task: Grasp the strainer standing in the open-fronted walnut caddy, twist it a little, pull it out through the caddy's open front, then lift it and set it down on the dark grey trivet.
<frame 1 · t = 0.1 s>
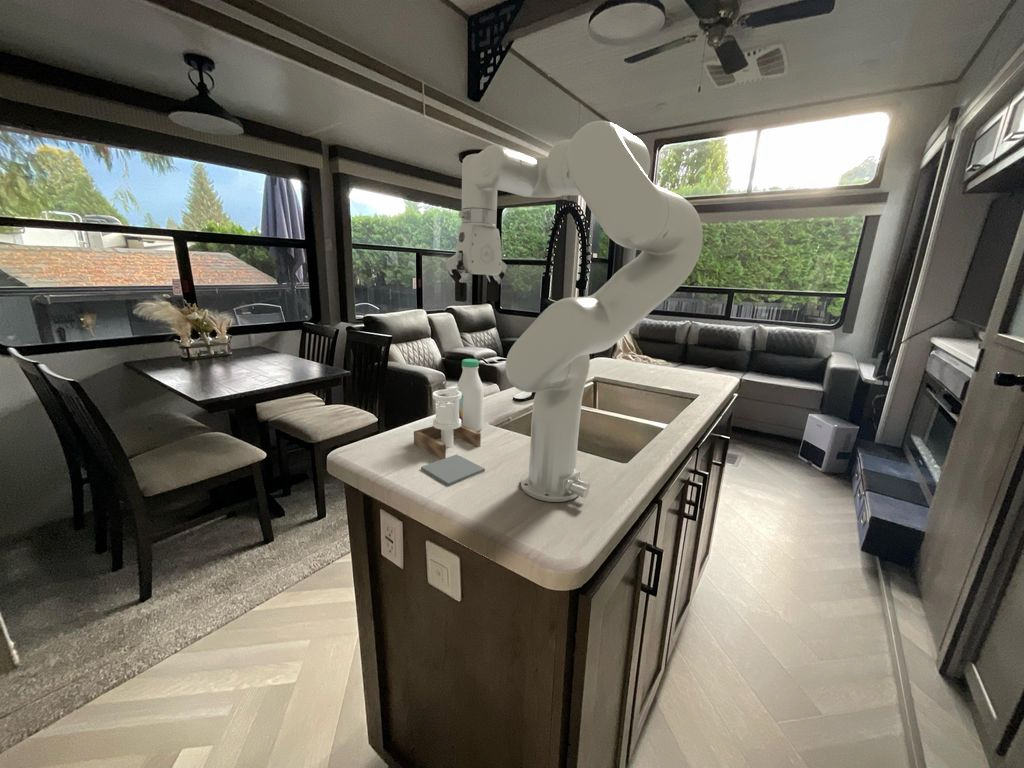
hand: (477, 301, 90), 37 cm above the worktop, tool pointing down, fingers open, 9 cm apart
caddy: (447, 445, 102), on the worktop
milk bottle: (469, 429, 115), on the worktop
trivet: (452, 470, 89), on the worktop
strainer: (447, 445, 102), on the worktop
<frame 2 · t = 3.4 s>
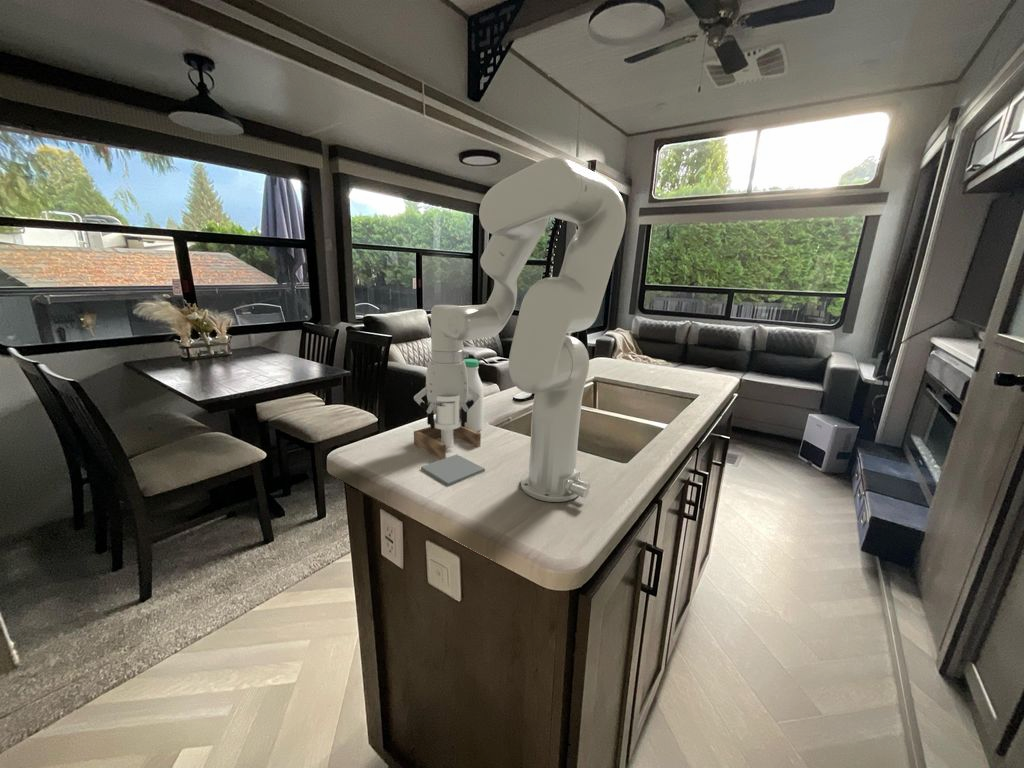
hand: (447, 425, 101), 5 cm above the worktop, tool pointing down, fingers closed on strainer, 7 cm apart
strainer: (447, 445, 102), on the worktop, touching gripper
everything else where it was.
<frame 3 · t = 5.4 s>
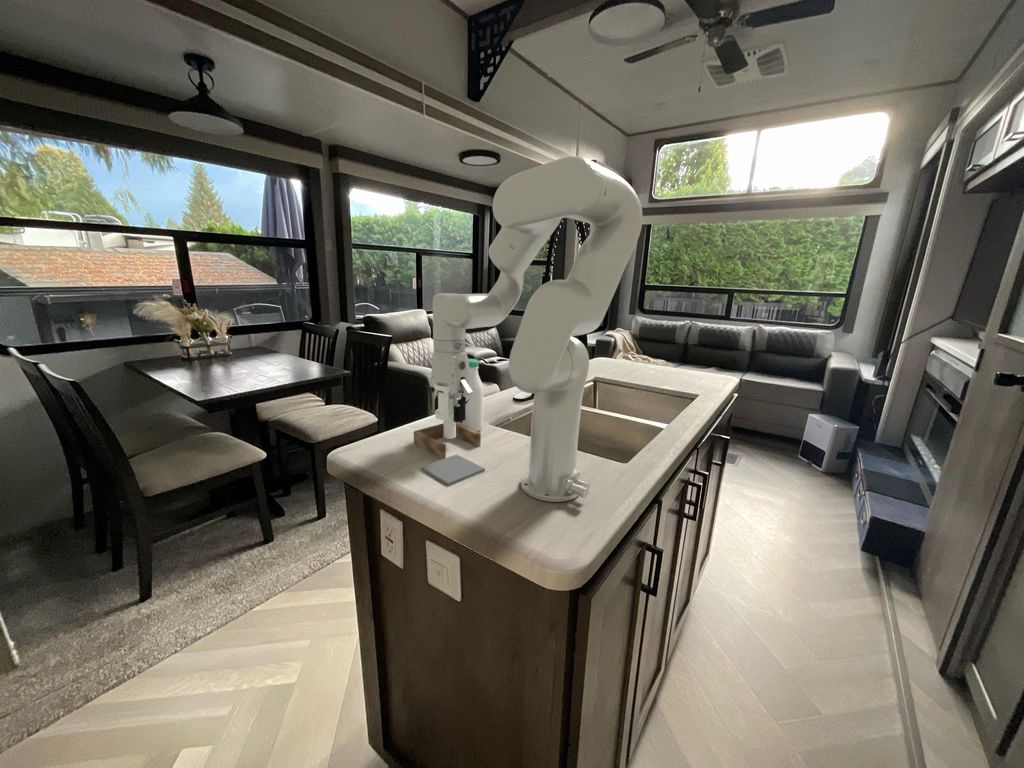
hand: (449, 416, 100), 8 cm above the worktop, tool pointing down, fingers closed on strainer, 7 cm apart
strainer: (449, 437, 101), point 2 cm above the worktop, touching gripper
everything else where it was.
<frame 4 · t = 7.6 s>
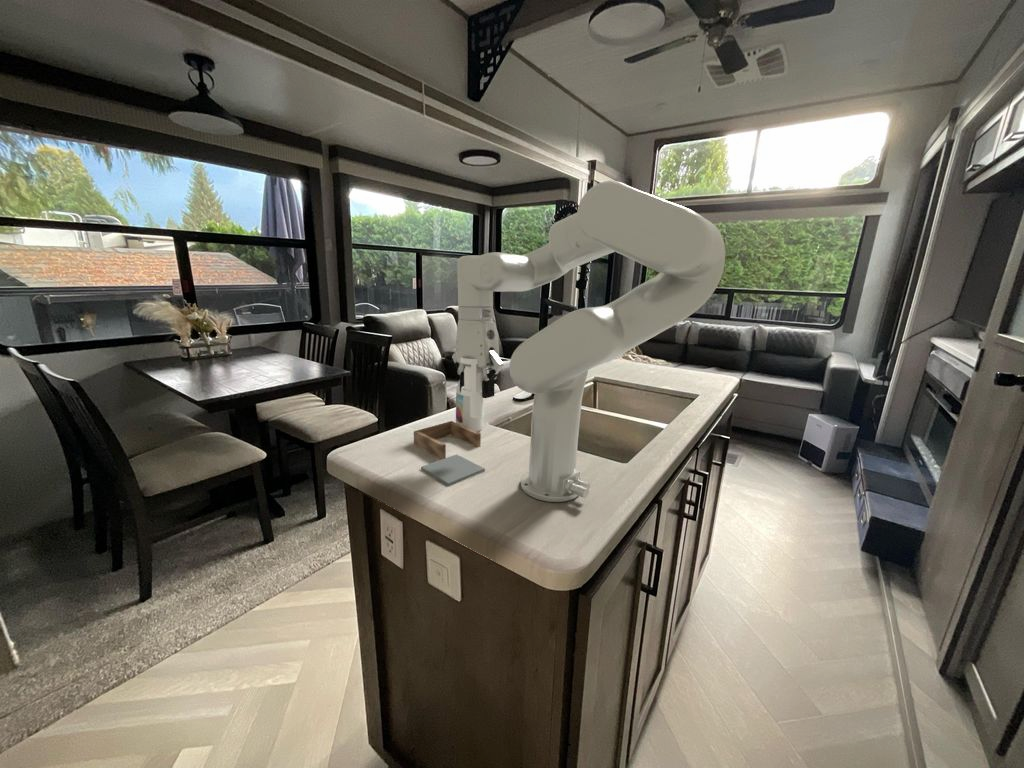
hand: (476, 393, 91), 16 cm above the worktop, tool pointing down, fingers closed on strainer, 7 cm apart
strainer: (477, 416, 92), point 11 cm above the worktop, touching gripper
everything else where it was.
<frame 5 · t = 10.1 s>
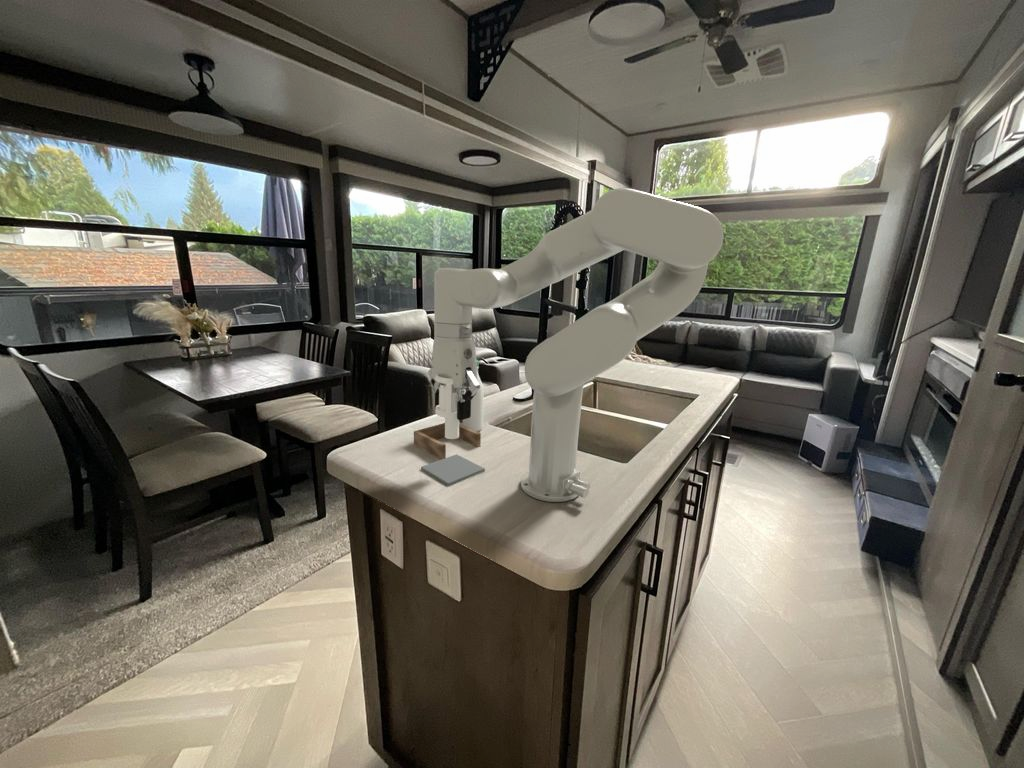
hand: (452, 413, 86), 13 cm above the worktop, tool pointing down, fingers closed on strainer, 7 cm apart
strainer: (451, 437, 87), point 8 cm above the worktop, touching gripper
everything else where it was.
when the fingers open (7 cm above the worktop, at t = 11.8 s): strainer drops 1 cm, resting on trivet.
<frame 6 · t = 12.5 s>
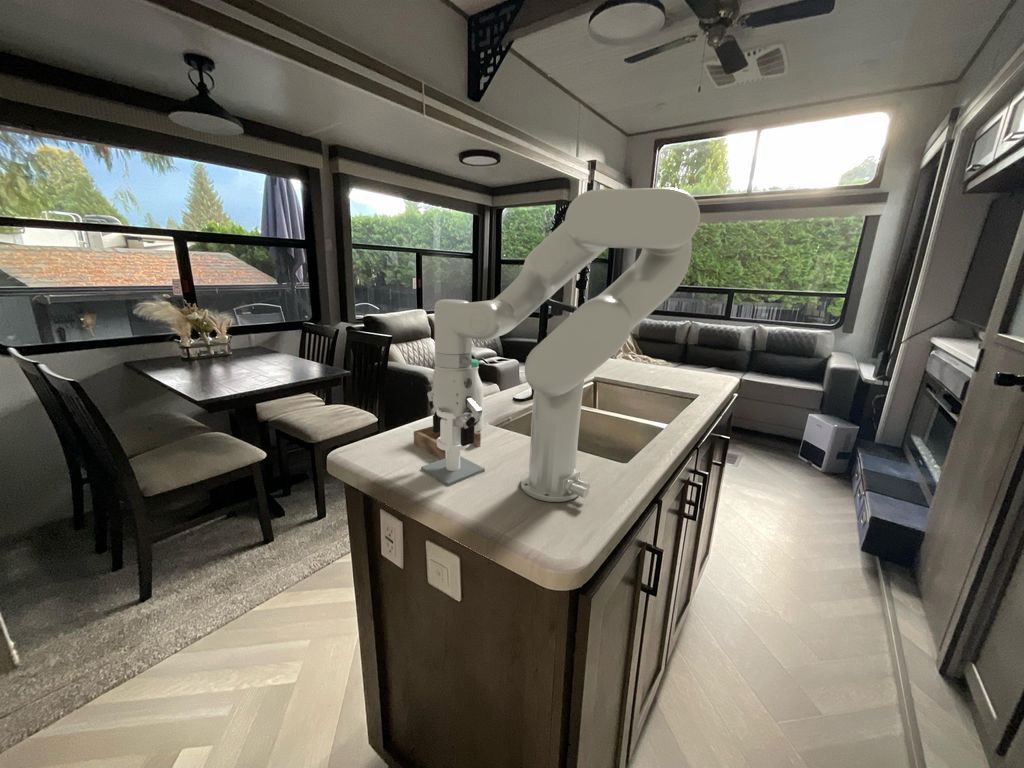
hand: (453, 437, 87), 8 cm above the worktop, tool pointing down, fingers open, 9 cm apart
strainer: (453, 468, 89), resting on trivet
everything else where it was.
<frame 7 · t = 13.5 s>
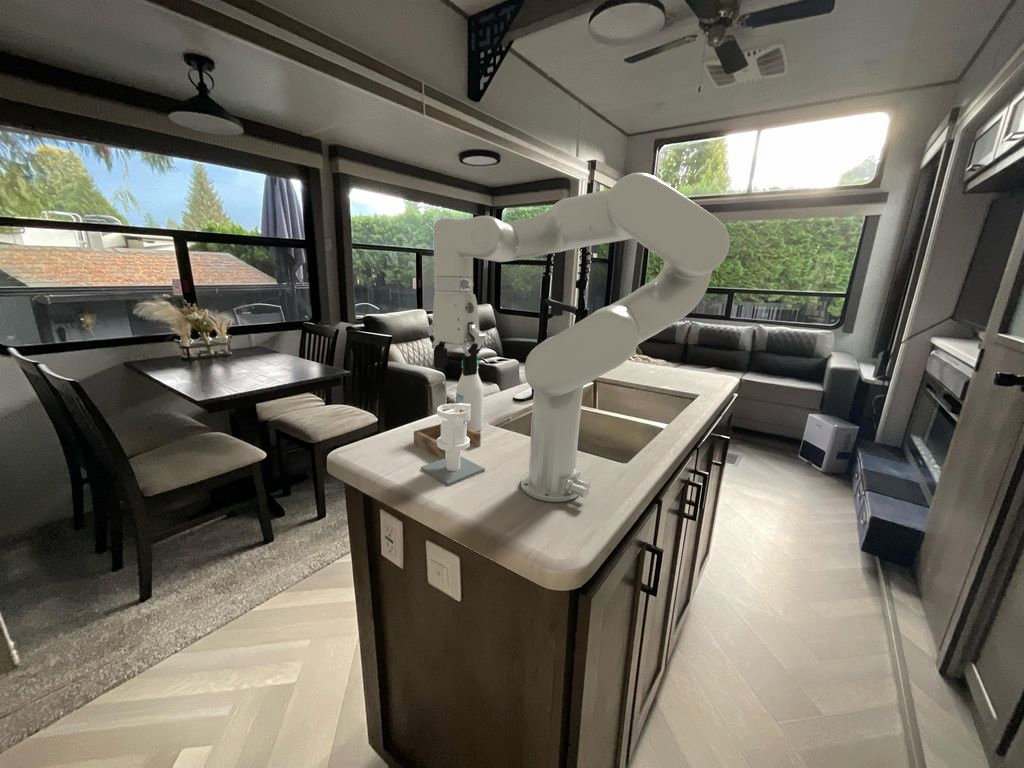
hand: (454, 370, 83), 23 cm above the worktop, tool pointing down, fingers open, 9 cm apart
nothing on the worktop moved.
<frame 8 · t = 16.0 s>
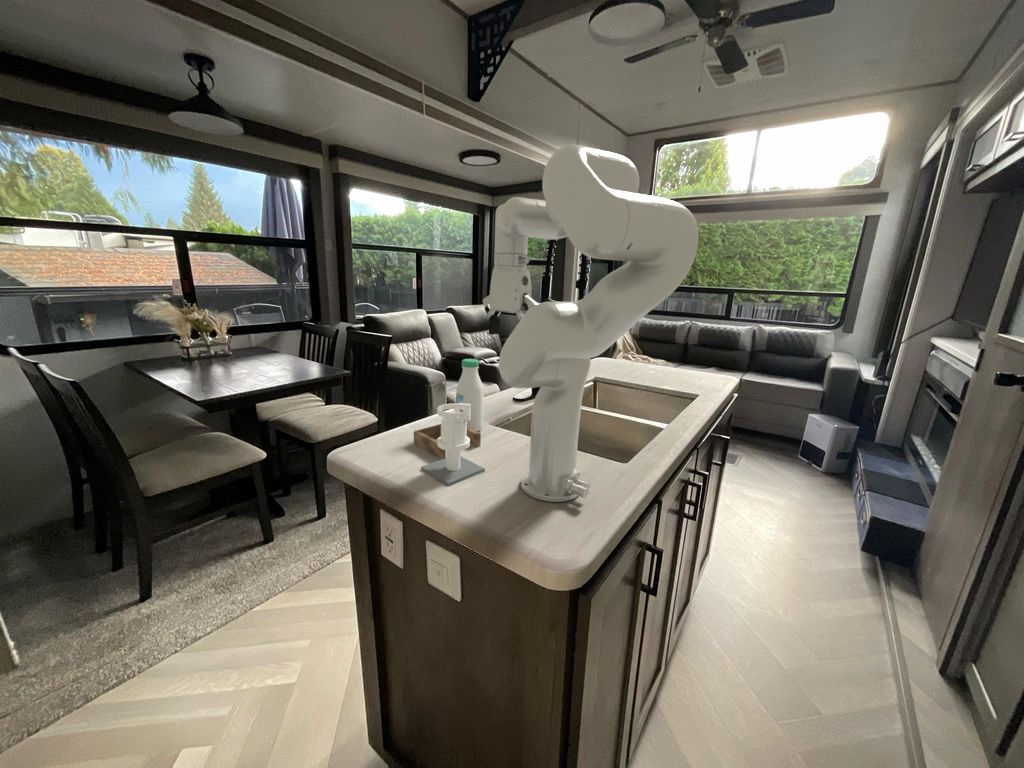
hand: (507, 336, 97), 28 cm above the worktop, tool pointing down, fingers open, 9 cm apart
nothing on the worktop moved.
at the end: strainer 0.1 cm from the trivet (horizontally); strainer resting on trivet; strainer tilted 1° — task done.
